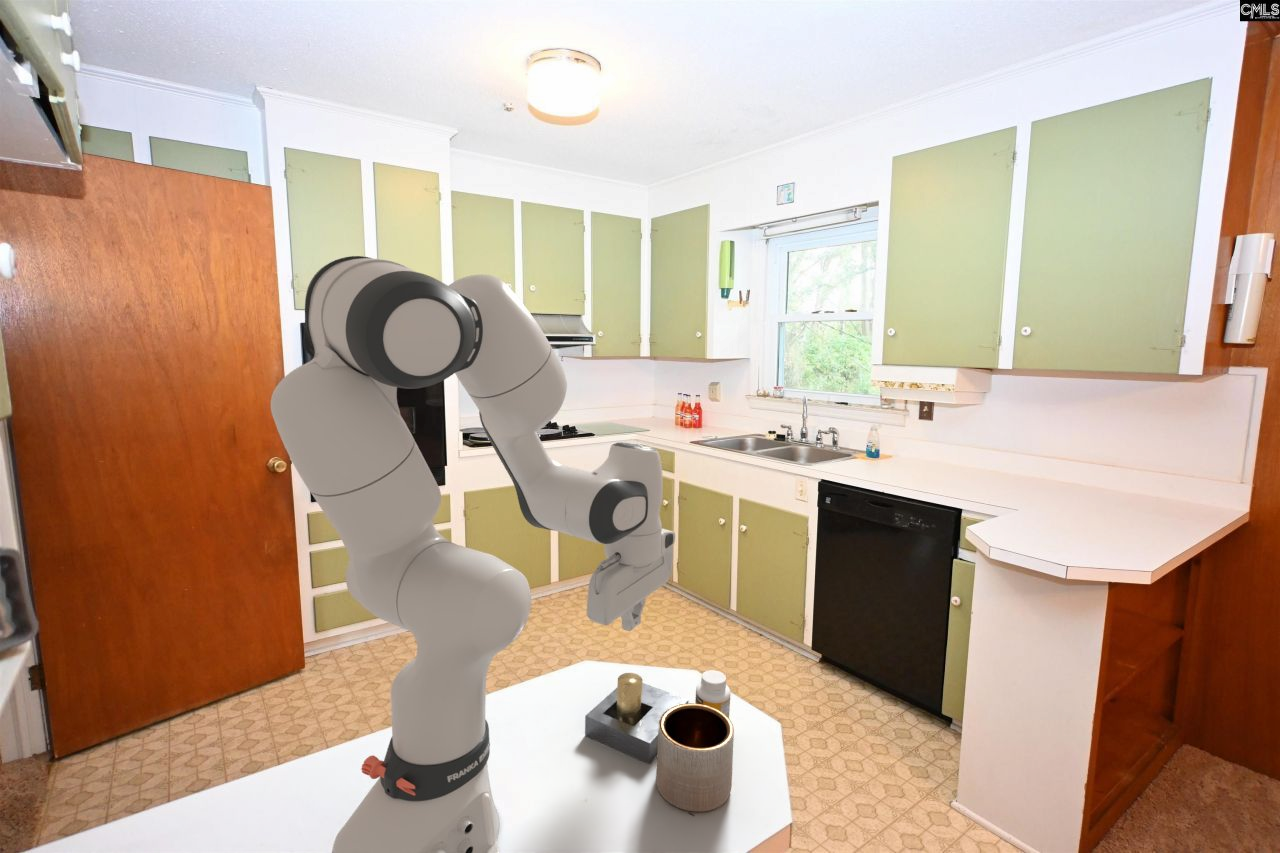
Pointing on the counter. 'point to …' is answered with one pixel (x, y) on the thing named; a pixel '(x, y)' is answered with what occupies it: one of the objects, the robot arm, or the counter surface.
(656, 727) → the jig plate
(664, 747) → the planter
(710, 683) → the supplement bottle
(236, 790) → the counter surface
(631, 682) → the gold round-topped cylinder
